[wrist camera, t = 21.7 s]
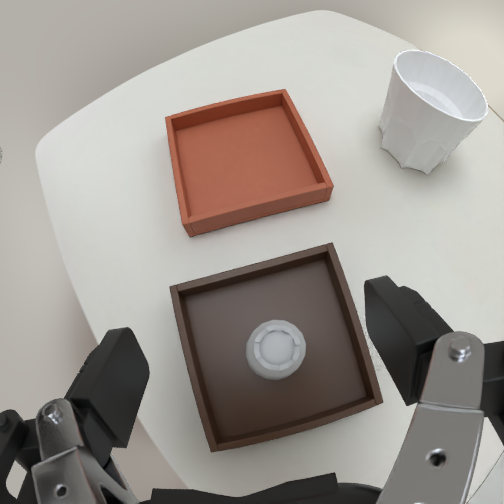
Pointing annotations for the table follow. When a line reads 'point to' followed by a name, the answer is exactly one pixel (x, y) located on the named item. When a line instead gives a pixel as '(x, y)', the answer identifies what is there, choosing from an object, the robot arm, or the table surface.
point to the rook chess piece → (275, 349)
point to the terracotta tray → (243, 161)
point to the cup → (428, 109)
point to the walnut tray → (242, 326)
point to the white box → (491, 486)
